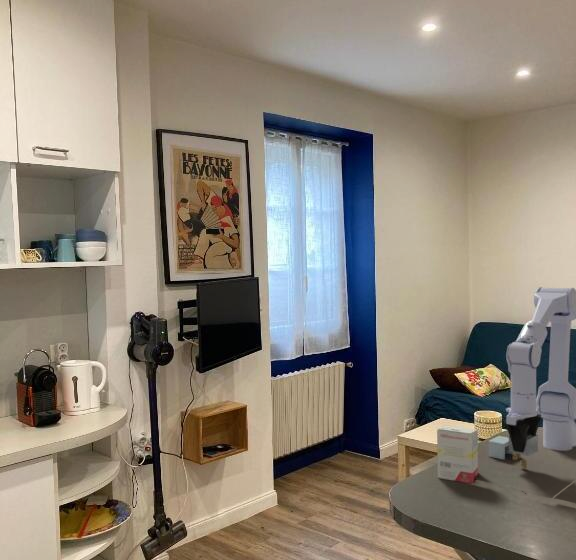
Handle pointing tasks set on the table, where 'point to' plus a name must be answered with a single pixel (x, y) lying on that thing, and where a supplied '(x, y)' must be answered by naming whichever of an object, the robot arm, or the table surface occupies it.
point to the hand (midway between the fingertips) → (523, 448)
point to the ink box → (457, 453)
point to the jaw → (527, 445)
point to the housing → (499, 447)
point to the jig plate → (522, 463)
